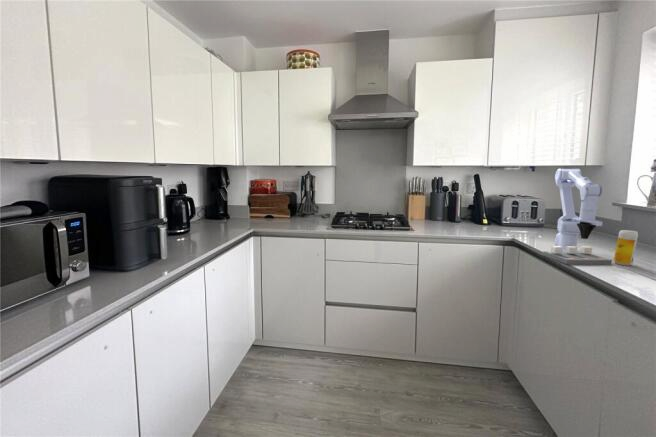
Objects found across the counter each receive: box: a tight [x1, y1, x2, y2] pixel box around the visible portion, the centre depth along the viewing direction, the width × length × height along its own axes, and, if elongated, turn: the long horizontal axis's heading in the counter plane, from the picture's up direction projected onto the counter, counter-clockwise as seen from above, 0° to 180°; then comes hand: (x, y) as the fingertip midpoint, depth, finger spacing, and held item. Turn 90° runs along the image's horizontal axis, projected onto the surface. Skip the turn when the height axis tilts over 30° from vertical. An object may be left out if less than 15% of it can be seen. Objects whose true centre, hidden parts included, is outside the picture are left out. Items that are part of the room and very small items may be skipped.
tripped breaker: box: [565, 246, 578, 254], centre depth 146 cm, size 2×4×3 cm, turn 90°
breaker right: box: [579, 245, 593, 254], centre depth 146 cm, size 2×4×3 cm, turn 90°
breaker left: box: [550, 245, 563, 254], centre depth 146 cm, size 2×4×3 cm, turn 90°
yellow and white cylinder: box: [613, 229, 639, 266], centre depth 136 cm, size 6×6×15 cm
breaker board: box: [542, 250, 613, 266], centre depth 143 cm, size 15×20×2 cm
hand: (584, 238), depth 145 cm, fingers closed
